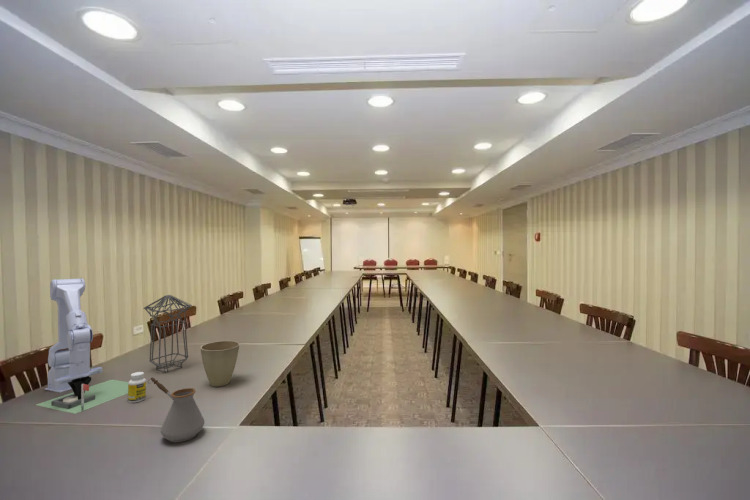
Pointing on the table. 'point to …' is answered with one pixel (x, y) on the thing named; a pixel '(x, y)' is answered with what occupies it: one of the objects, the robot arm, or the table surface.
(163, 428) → the coffee pot
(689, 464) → the table surface
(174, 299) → the geometric lantern
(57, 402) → the grey frame
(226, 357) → the plant pot
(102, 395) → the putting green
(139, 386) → the supplement bottle
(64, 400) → the stone
